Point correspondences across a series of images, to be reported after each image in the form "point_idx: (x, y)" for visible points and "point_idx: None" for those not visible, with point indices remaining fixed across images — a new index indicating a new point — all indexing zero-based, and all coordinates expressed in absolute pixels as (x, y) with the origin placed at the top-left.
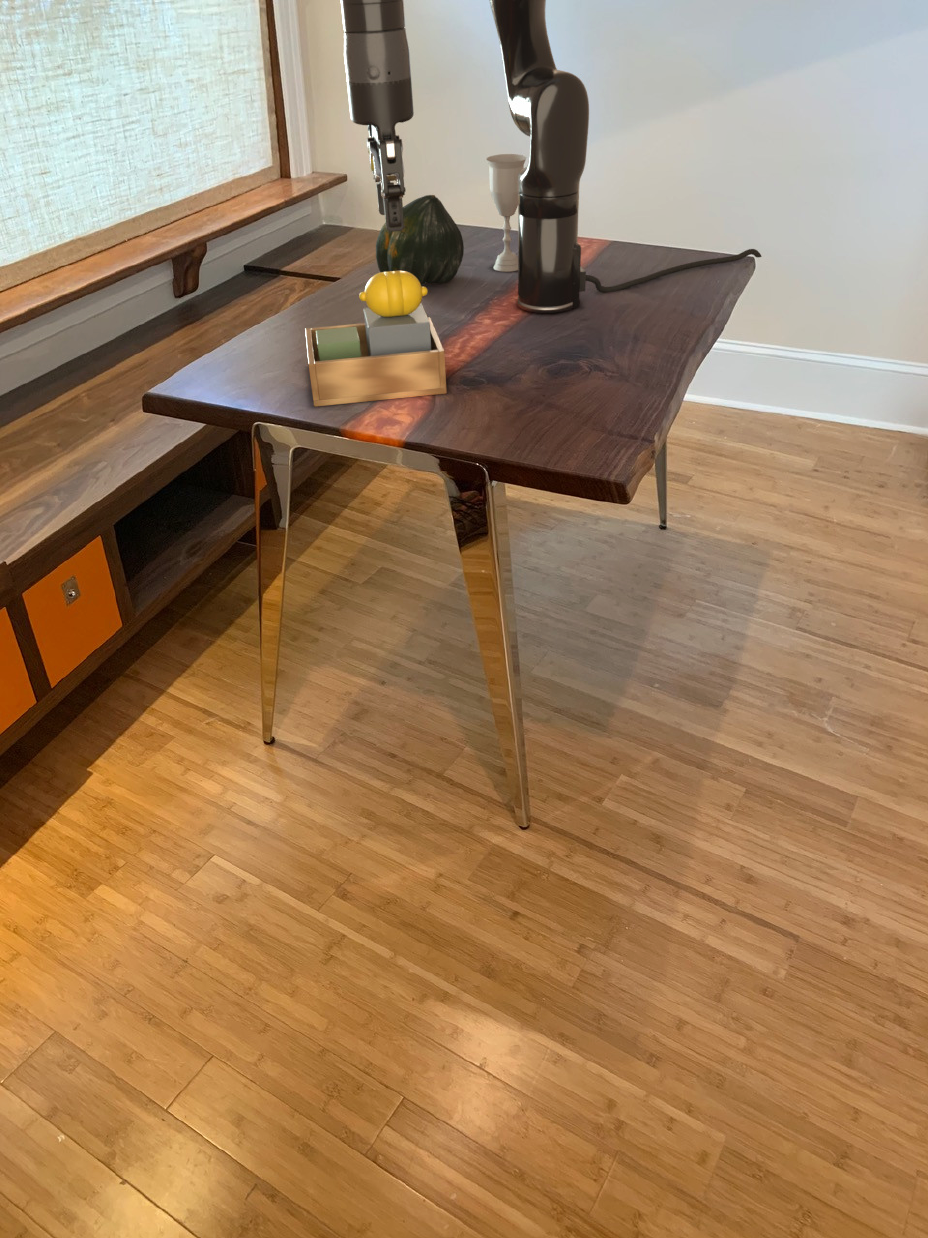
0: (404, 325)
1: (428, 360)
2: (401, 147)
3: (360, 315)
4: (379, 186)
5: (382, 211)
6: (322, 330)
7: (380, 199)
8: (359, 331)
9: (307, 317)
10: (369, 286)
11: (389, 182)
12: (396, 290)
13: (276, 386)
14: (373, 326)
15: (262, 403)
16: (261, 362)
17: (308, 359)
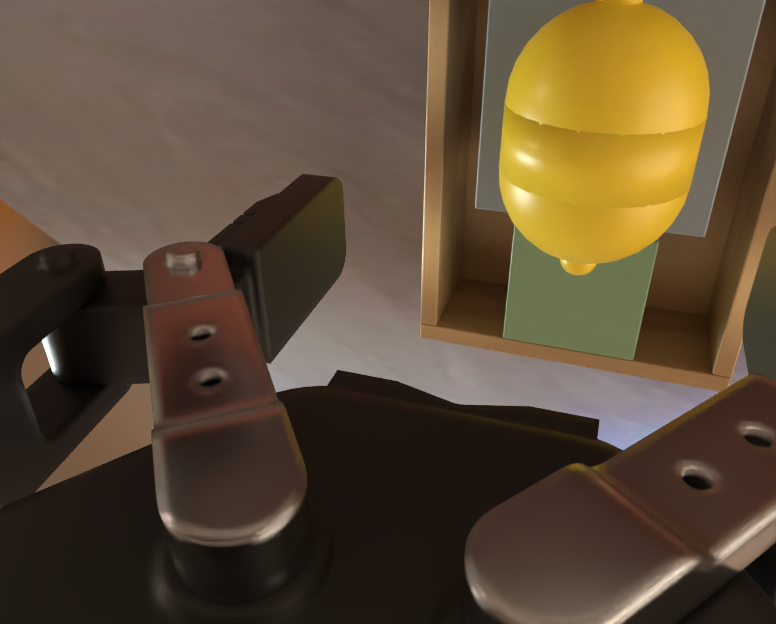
0: (739, 97)
1: None
2: (675, 586)
3: (93, 86)
4: (275, 339)
5: (339, 258)
6: (512, 322)
7: (312, 298)
8: (447, 185)
9: (105, 222)
10: (613, 260)
11: (248, 280)
12: (691, 153)
13: (538, 372)
14: (699, 218)
15: (633, 417)
16: (377, 370)
17: (686, 384)
